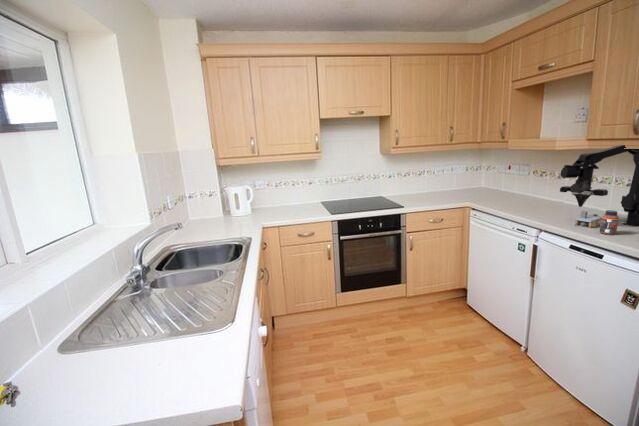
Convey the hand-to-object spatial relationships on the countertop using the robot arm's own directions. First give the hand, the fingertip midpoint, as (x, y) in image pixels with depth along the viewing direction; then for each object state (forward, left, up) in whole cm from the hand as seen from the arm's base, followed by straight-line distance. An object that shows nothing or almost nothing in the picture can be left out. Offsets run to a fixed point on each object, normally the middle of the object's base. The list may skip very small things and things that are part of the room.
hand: (580, 206), depth 160 cm
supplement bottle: (+8, +15, -10) cm, 20 cm away
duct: (-4, +3, -10) cm, 11 cm away
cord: (-2, +3, -10) cm, 11 cm away
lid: (-4, +3, -7) cm, 8 cm away
